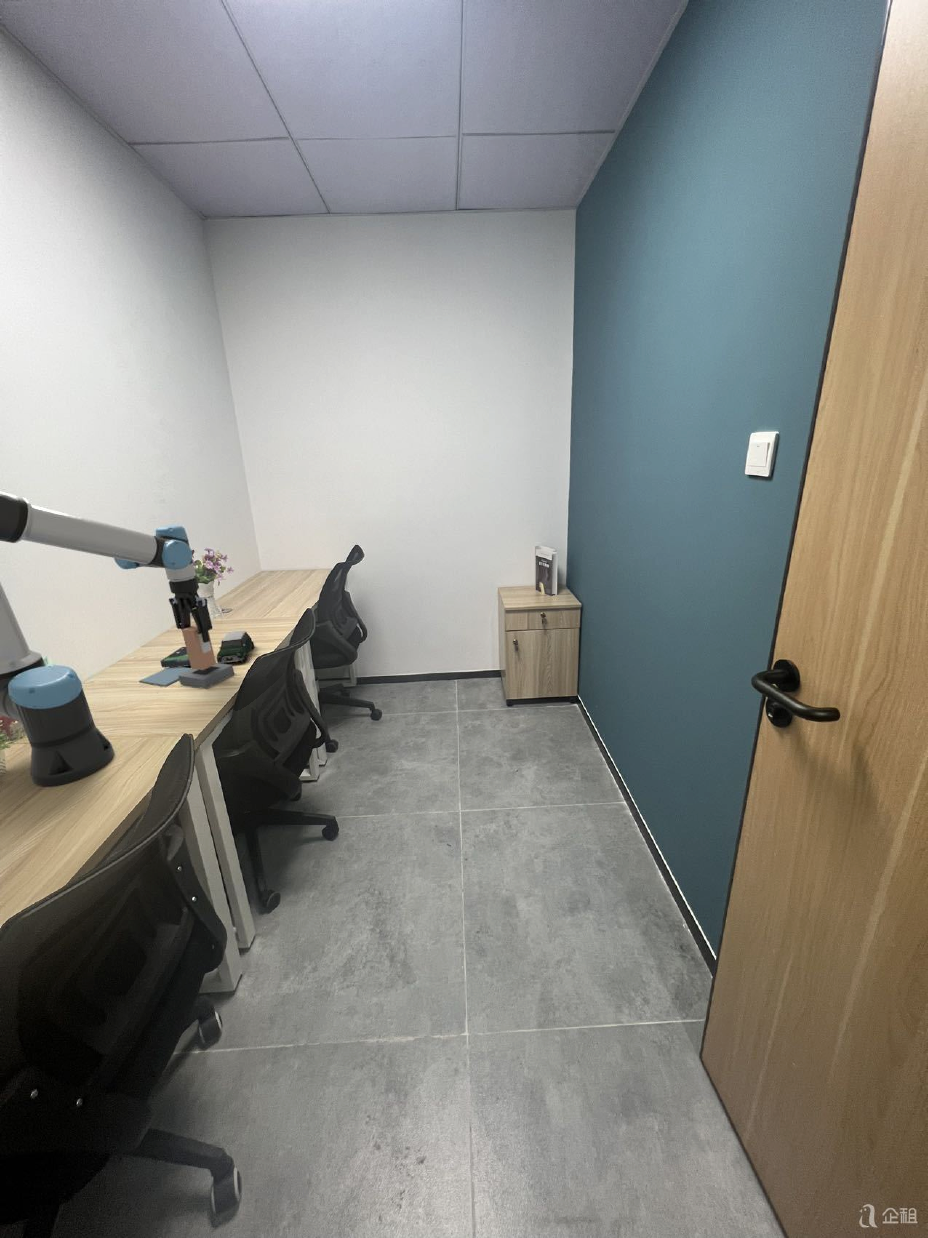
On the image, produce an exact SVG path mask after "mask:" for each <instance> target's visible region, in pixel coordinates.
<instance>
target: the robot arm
mask: <svg viewBox="0 0 928 1238" xmlns="http://www.w3.org/2000/svg"><path fill="white" fill-rule="evenodd" d="M20 541H27V542H32V543H36V544H41V545H45V546H51V547H56V548H61V549H67V550H73V551H76V552H82V553H85V554H86V553H87V554H91V555H92V554H93V555H97V556H103V557H106V558H113V560H114V562H115V563H116V565H117V566H118V567H119V568H120V569H122V570H131V569H132V570H133V569H134V570H135V569H136V570H137V568H154V569H156V568H157V569H164V570H165V575H166V579H167V580H169V581H168V586H169V589H170V593H171V594H173V595H174V597H171V598H168V602H169V604H170V607H171V609H172V614H173V619H174V621H175V626H176V628H177V630H181V631H182V629H185V628H187V627H190V626H192V623H191V621H192V620H191V616H192V619H193V620H194V623H195V624H196V625H197V628H198V630H199V632H198V637H199V641H200V645H201V649H202V653H206V652H208V651H211V646H210V642H209V641H210V639H211V638H210V639H209V635H210V634H209V635H208V631H209V632H210V631H211V630H213V624H212V620H211V614H210V611H209V608H208V599H207V598H206V597H205V598H201V597H200V595H199V594H198V590H199V589H200V585H199V581H198V578H197V577H196V576H197V573H196V569H195V565H194V561H193V553H192V549H191V546H190V543H189V538H188V534H187V532H186V529H185V527H184V526H182V525H166V526H160V527H156V528H155V535H151V534H148V533H144V532H139V531H136V530H131V529H127V528H123V527H119V526H115V525H112V524H108V523H104V522H100V521H96V520H92V519H88V518H84V517H80V516H77V515H72V514H68V513H64V512H62V511H61V512H60V511H57V510H53V509H49V508H45V507H41V506H37V505H33V504H31V503H30V502H29V501H28V500H27V499H26V498H25V497H23V496H22V497H21V496H18V495H14V494H11V493H7V492H4V491H0V542H7V543H10V544H11V543H12V544H17V543H19V542H20ZM202 628H203V629H202ZM27 642H28V641H27V640H26V638H25V636H24V633H23V632H22V630H21V627H20V624H19V622H18V620H17V617H16V615H15V613H14V611H13V608H12V606H11V603H10V601H9V598H8V596H7V594H6V591H5V590H4V588H3V585H2V584H1V582H0V716H2V717H6V718H9V719H11V720H13V721H17V722H19V723H20V724H21V725H22V728H23V730H24V733H25V735H26V738H27V740H28V742H29V745H30V748H31V751H30V752H31V753H30V767H29V773H30V776H31V779H32V782H33V783H34V785H36V786H40V787H53V786H60V785H65V784H68V783H73V782H75V781H77V780H82V779H83V778H85V777H87V776H89V775H92V774H94V773H95V772H98V771H99V770H100V769H102V768H104V767H105V766H106V765H107V764H108V763H110V762H111V760H112V759H113V758H114V756H115V750H114V748H113V745H112V743H111V742H110V740H109V739H108V738H107V737H106V736H105V734H103V733H102V731H100V729H99V728H98V727H97V726H96V724H95V721H94V718H93V715H92V712H91V709H90V707H89V704H88V701H87V697H86V695H85V691H84V688H83V685H82V681H81V679H80V678H79V676H78V674H77V672H76V671H75V670H74V669H73V668H71V667H70V666H66V665H58V664H57V665H53V666H52V665H46V663H45V661H44V659H43V656H42V654H41V653H40V652H36V651H34V650H32V649H30V647H29V645H28V643H27Z"/></svg>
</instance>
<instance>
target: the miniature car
mask: <svg viewBox="0 0 928 1238" xmlns="http://www.w3.org/2000/svg"><path fill="white" fill-rule="evenodd" d="M218 649H219V650H218V652H217V654H216V663H220V664H226V663H232V662H239V661H241V663H246V662H247V661H248V657H247V656H248V655H249V653H250V651H251V650H254V649H255V642H254V641H253V640H252V638H251V636H250V635H249V634H248V633H247V631H246V630H238V631H232V632H227V633H226V634H225V636H224V637H223V638H222V639H221V644H220V646H219V647H218Z"/></svg>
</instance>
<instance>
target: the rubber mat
mask: <svg viewBox="0 0 928 1238" xmlns="http://www.w3.org/2000/svg"><path fill="white" fill-rule="evenodd" d="M191 669H192V668H191V667H185V666H179V667H165V669H162V670H160V671H158V672H155V673H154V674H152V675H149V676H147V677H144V678H142V679H140V680H138V681H139V683H140V684H141V683H142V684H148V685H152V686H153V685H154V686H160V687H165V688H166V687H168V686H170V685H172V684H175V682H176V683H177V682H178V681H180V680H179V677H178V676H179V675H181V674H183V673H185V672H187V671H189V670H191Z"/></svg>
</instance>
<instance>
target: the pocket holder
mask: <svg viewBox="0 0 928 1238" xmlns="http://www.w3.org/2000/svg"><path fill="white" fill-rule="evenodd" d="M234 674H235V671H234V666H233V664H227V663H224V664H220V663H217V662H216V664H215V665H213V666H211V667H209V668H207V669H205V670H198V669H192V668H191V670H189V671H187V672H185V673H183V674H181V675H179V676H178V677H179V680H178V681H179V683H180V686H181V685H182V686H187V687H188V686H189V687H195V688H201V689H209V688H210V687H212V686H214V685H216V684H217V683H219V682H221V681H223V680H225V679H227V678H228V677H230V676H232V675H234Z"/></svg>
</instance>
